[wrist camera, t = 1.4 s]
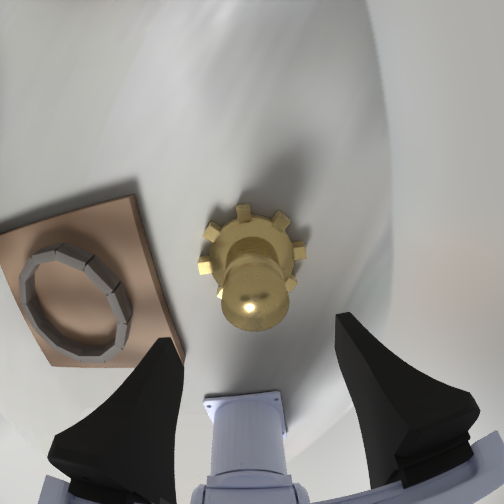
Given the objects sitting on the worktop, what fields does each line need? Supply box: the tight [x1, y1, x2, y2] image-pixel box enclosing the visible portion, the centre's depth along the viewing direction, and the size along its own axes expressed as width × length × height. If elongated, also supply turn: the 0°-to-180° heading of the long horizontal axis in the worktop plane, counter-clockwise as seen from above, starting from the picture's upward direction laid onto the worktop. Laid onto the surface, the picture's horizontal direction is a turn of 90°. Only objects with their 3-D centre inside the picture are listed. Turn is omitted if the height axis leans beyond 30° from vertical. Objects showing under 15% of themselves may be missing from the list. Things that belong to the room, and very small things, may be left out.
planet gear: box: [197, 203, 306, 331], centre depth 19 cm, size 8×8×7 cm
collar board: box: [0, 194, 186, 368], centre depth 22 cm, size 15×16×3 cm
